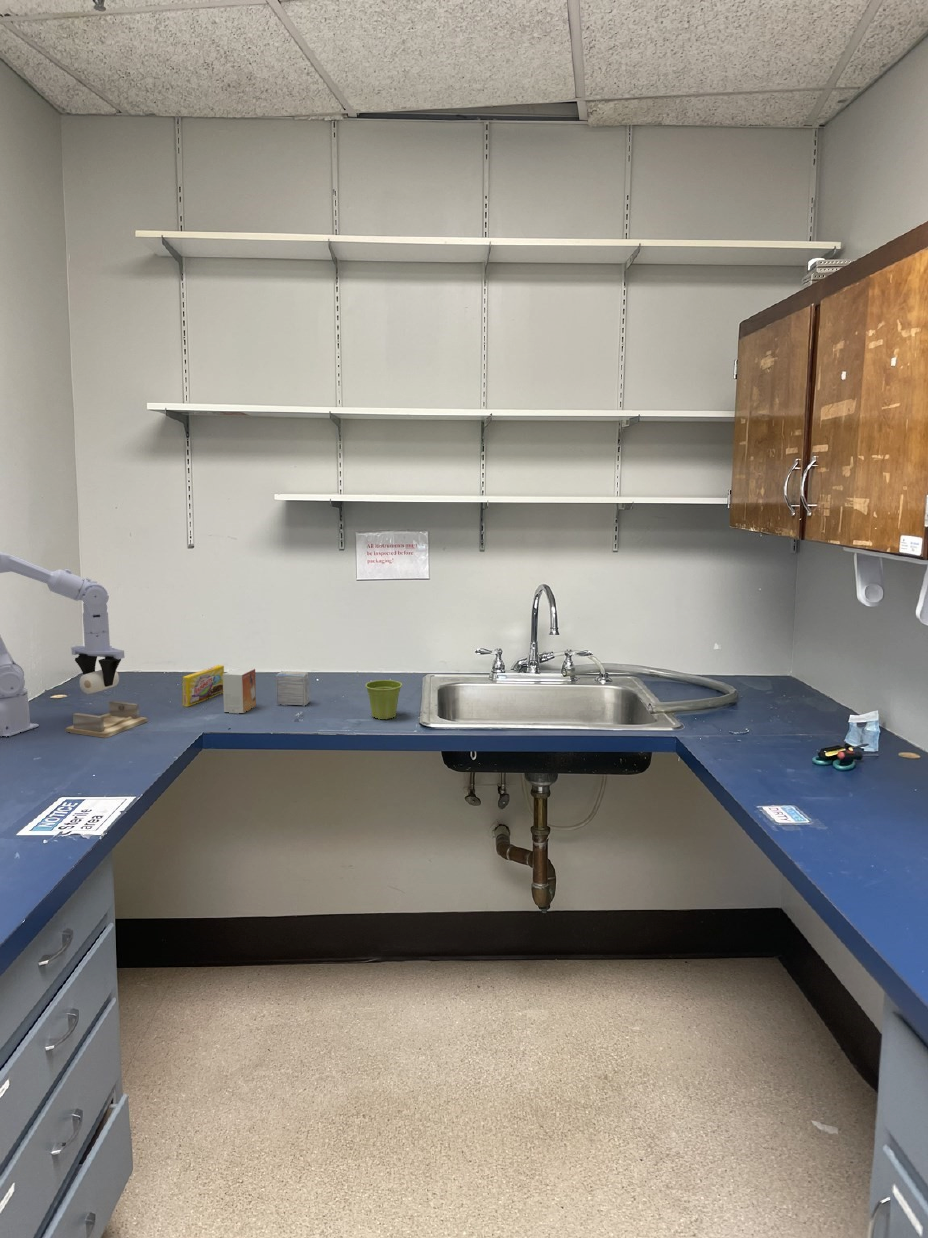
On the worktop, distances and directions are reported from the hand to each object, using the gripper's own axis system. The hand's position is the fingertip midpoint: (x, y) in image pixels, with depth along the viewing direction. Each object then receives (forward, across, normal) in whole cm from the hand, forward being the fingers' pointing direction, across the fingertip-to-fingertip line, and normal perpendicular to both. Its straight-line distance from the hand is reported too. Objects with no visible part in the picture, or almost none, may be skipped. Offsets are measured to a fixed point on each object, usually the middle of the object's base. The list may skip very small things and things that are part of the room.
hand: (99, 684), depth 204 cm
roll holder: (+9, -6, +5) cm, 12 cm away
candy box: (+9, -12, -25) cm, 30 cm away
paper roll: (+1, 0, 0) cm, 1 cm away
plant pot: (+9, -65, -28) cm, 72 cm away
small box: (+9, -27, -20) cm, 35 cm away
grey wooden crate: (+9, -37, -30) cm, 49 cm away
